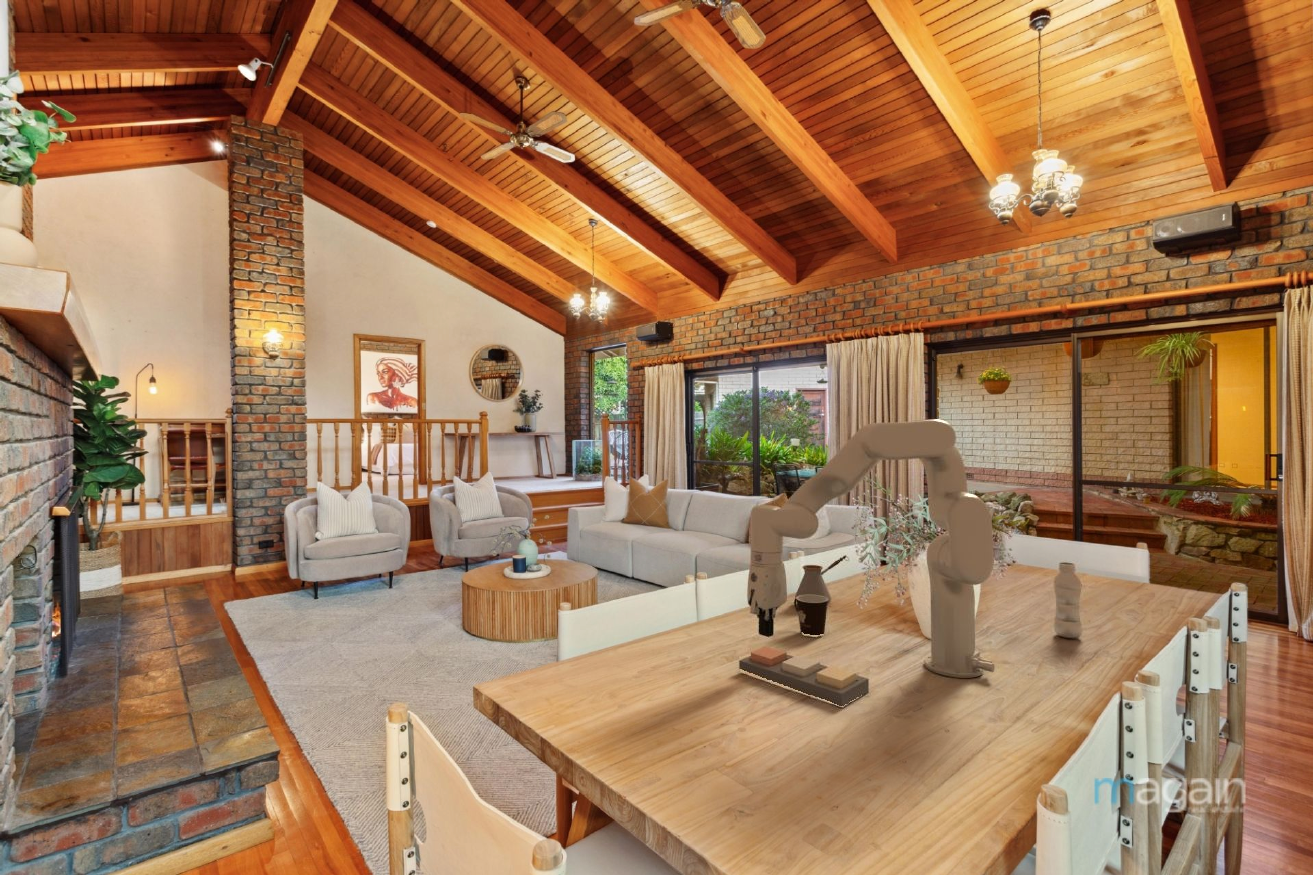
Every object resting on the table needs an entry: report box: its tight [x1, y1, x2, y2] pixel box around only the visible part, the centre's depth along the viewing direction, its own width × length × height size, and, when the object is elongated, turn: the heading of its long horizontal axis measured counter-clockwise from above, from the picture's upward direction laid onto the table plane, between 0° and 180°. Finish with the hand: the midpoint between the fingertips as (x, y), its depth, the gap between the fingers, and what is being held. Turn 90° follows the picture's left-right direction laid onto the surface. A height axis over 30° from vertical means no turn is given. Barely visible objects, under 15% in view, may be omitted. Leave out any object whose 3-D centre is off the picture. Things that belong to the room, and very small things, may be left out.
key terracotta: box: [750, 646, 788, 667], centre depth 148 cm, size 6×6×2 cm
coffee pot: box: [794, 555, 850, 606], centre depth 205 cm, size 21×12×15 cm, turn 119°
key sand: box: [817, 665, 857, 689], centre depth 135 cm, size 6×6×2 cm
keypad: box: [738, 654, 870, 706], centre depth 141 cm, size 27×11×3 cm, turn 43°
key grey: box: [782, 655, 821, 677], centre depth 141 cm, size 6×6×2 cm
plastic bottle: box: [1053, 561, 1083, 639], centre depth 169 cm, size 6×7×20 cm
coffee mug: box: [793, 595, 828, 635], centre depth 176 cm, size 12×9×10 cm
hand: (766, 634), depth 148 cm, fingers closed
